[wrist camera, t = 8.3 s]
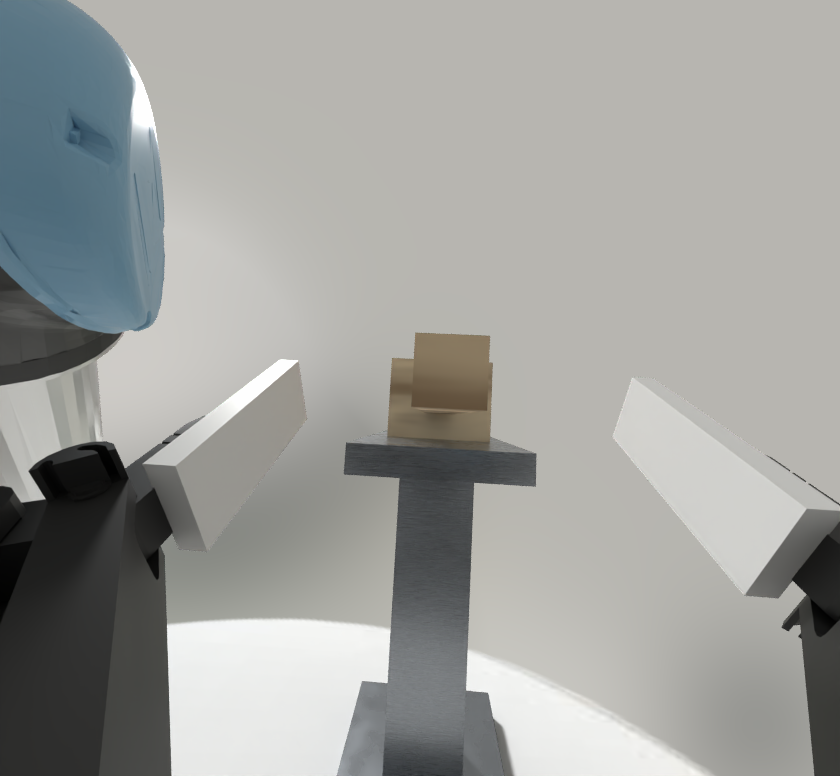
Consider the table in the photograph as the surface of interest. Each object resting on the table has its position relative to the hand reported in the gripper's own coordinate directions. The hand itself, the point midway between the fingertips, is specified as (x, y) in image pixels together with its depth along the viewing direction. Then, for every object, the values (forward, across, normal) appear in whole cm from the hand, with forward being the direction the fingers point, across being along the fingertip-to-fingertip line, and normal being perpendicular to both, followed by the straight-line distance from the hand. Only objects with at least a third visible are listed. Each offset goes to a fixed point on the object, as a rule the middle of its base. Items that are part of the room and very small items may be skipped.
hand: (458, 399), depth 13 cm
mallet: (+9, 0, -8) cm, 12 cm away
